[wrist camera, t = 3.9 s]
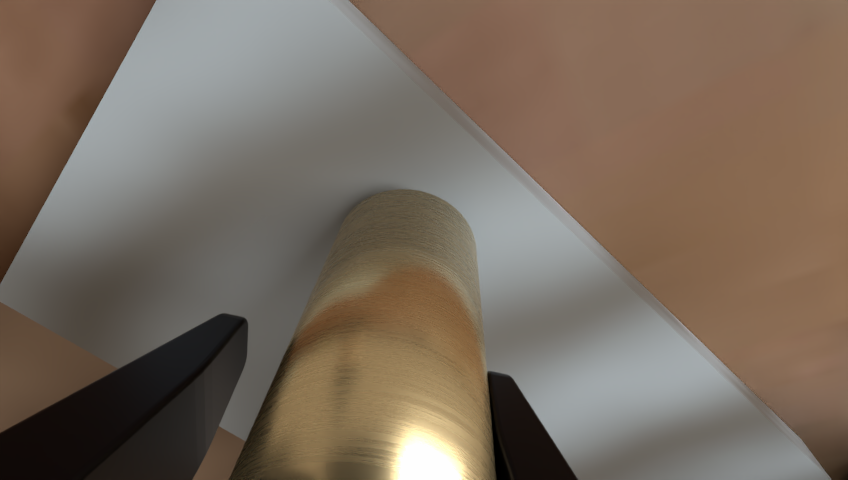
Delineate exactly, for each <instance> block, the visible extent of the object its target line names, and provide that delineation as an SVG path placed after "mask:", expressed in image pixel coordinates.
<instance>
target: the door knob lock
mask: <svg viewBox="0 0 848 480" xmlns="http://www.w3.org/2000/svg"><path fill="white" fill-rule="evenodd" d="M229 480H497V479H496V468H495V456H494V445H493V434H492V422H491V411H490V399H489V388H488V376H487V365H486V353H485V342H484V330H483V319H482V307H481V296H480V284H479V273H478V261H477V250H476V242H475V238H474V235H473V232H472V230H471V227H470V226H469V224H468V222H467V221H466V219H465V218H464V217H463V216H462V214H461V213H460V212H459V211H458V210H457V209H456V208H455V207H453V206H452V205H451V204H449V203H448V202H446V201H445V200H443V199H441V198H439V197H437V196H435V195H432V194H430V193H426V192H423V191H418V190H411V189H397V190H389V191H385V192H381V193H378V194H375V195H372V196H371V197H369V198H367V199H365V200H363V201H362V202H361V203H359V204H358V205H357V206H356V207H354V208H353V209H352V210H351V211H350V213H349V214H348V215H347V217H346V218H345V220H344V222H343V223H342V225H341V228H340V230H339V232H338V234H337V237H336V239H335V241H334V243H333V246H332V248H331V250H330V252H329V255H328V257H327V259H326V261H325V264H324V266H323V268H322V270H321V273H320V275H319V277H318V279H317V282H316V284H315V286H314V288H313V291H312V293H311V295H310V298H309V300H308V302H307V304H306V307H305V309H304V311H303V313H302V316H301V318H300V320H299V322H298V325H297V327H296V329H295V331H294V334H293V336H292V338H291V340H290V343H289V345H288V347H287V349H286V352H285V354H284V356H283V358H282V361H281V363H280V365H279V367H278V370H277V372H276V374H275V376H274V379H273V381H272V383H271V385H270V388H269V390H268V392H267V395H266V397H265V399H264V401H263V404H262V406H261V408H260V410H259V413H258V415H257V417H256V419H255V422H254V424H253V426H252V428H251V431H250V433H249V435H248V437H247V440H246V442H245V444H244V446H243V449H242V451H241V453H240V455H239V458H238V460H237V462H236V464H235V467H234V469H233V471H232V473H231V476H230V478H229Z"/></svg>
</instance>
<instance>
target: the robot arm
mask: <svg viewBox="0 0 848 480" xmlns="http://www.w3.org/2000/svg"><path fill="white" fill-rule="evenodd" d="M247 346H248V321H247V319H246V318H244V317H241V316H237V315H232V314H227V313H221V314H218V315H216V316H215V317H213V318H211V319H209V320H207V321H205V322H204V323H202V324H200V325H198V326H196V327H194V328H192V329H191V330H189V331H187V332H185V333H183V334H181V335H180V336H178V337H176V338H174V339H172V340H170V341H168V342H167V343H165V344H163V345H161V346H159V347H157V348H156V349H154V350H152V351H150V352H148V353H146V354H144V355H143V356H141V357H139V358H137V359H135V360H133V361H132V362H130V363H128V364H126V365H124V366H122V367H120V368H119V369H117V370H115V371H113V372H111V373H109V374H108V375H106V376H104V377H102V378H100V379H98V380H96V381H95V382H93V383H91V384H89V385H87V386H85V387H84V388H82V389H80V390H78V391H76V392H74V393H72V394H71V395H69V396H67V397H65V398H63V399H61V400H60V401H58V402H56V403H54V404H52V405H50V406H48V407H47V408H45V409H43V410H41V411H39V412H37V413H36V414H34V415H32V416H30V417H28V418H26V419H25V420H23V421H21V422H19V423H17V424H15V425H13V426H12V427H10V428H8V429H6V430H4V431H2V432H1V433H0V480H193V478H194V476H195V474H196V473H197V471H198V469H199V467H200V465H201V463H202V461H203V460H204V458H205V456H206V454H207V452H208V449H209V447H210V445H211V443H212V441H213V438H214V436H215V434H216V431H217V429H218V427H219V424H220V422H221V420H222V417H223V415H224V413H225V411H226V408H227V406H228V404H229V401H230V399H231V397H232V394H233V392H234V390H235V387H236V385H237V383H238V381H239V378H240V376H241V374H242V371H243V369H244V366H245V363H246V359H247ZM487 376H488V388H489V399H490V411H491V422H492V434H493V445H494V456H495V468H496V479H497V480H578V478H577V477H576V475H575V473H574V472H573V470H572V469H571V467H570V466H569V464H568V463H567V461H566V460H565V458H564V456H563V455H562V453H561V452H560V450H559V449H558V447H557V446H556V444H555V443H554V441H553V439H552V438H551V436H550V435H549V433H548V432H547V430H546V429H545V427H544V426H543V424H542V422H541V421H540V419H539V418H538V416H537V415H536V413H535V412H534V410H533V409H532V407H531V405H530V404H529V402H528V401H527V399H526V398H525V396H524V395H523V393H522V392H521V390H520V388H519V387H518V385H517V384H516V382H515V381H514V379H513V378H512V377H511V376H510V375H508V374H503V373H499V372H494V371H488V372H487Z"/></svg>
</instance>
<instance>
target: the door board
mask: <svg viewBox="0 0 848 480" xmlns="http://www.w3.org/2000/svg"><path fill="white" fill-rule="evenodd" d="M397 189H411V190H418V191H423V192H426V193H430V194H432V195H435V196H437V197H439V198H441V199H443V200H445V201H446V202H448V203H449V204H451V205H452V206H453V207H455V208H456V209H457V210H458V211H459V212H460V213H461V214H462V216H463V217H464V218H465V219H466V221H467V222H468V224H469V226H470V227H471V230H472V232H473V235H474V238H475V242H476V250H477V261H478V273H479V284H480V296H481V307H482V319H483V330H484V342H485V353H486V365H487V372H488V371H494V372H499V373H503V374H508V375H510V376H511V377H512V378H513V379H514V381H515V382H516V384H517V385H518V387H519V388H520V390H521V392H522V393H523V395H524V396H525V398H526V399H527V401H528V402H529V404H530V405H531V407H532V409H533V410H534V412H535V413H536V415H537V416H538V418H539V419H540V421H541V422H542V424H543V426H544V427H545V429H546V430H547V432H548V433H549V435H550V436H551V438H552V439H553V441H554V443H555V444H556V446H557V447H558V449H559V450H560V452H561V453H562V455H563V456H564V458H565V460H566V461H567V463H568V464H569V466H570V467H571V469H572V470H573V472H574V473H575V475H576V477H577V478H578V480H832V479H831V478H830V477H829V475H828V474H827V473H826V471H825V470H824V469H823V467H822V466H821V465H820V463H819V462H818V461H817V459H816V458H815V457H814V455H813V454H812V453H811V451H810V450H809V449H808V447H807V446H806V445H805V444H804V442H803V441H802V440H801V438H800V437H798V436H797V435H796V434H795V433H794V432H793V431H792V430H791V429H790V428H789V427H788V426H787V425H786V424H785V423H784V422H783V421H782V420H781V419H780V418H779V417H778V416H777V415H776V414H775V413H774V412H773V411H772V410H771V409H770V408H769V407H768V406H767V405H765V404H764V403H763V402H762V401H761V400H760V399H759V398H758V397H757V396H756V395H755V394H754V393H753V392H752V391H751V390H750V389H749V388H748V387H747V386H746V385H745V384H744V383H743V382H742V381H741V380H740V379H739V378H738V377H737V376H736V375H735V374H733V373H732V372H731V371H730V370H729V369H728V368H727V367H726V366H725V365H724V364H723V363H722V362H721V361H720V360H719V359H718V358H717V357H716V356H715V355H714V354H713V353H712V352H711V351H710V350H709V349H708V348H707V347H706V346H705V345H704V344H703V343H702V342H700V341H699V340H698V339H697V338H696V337H695V336H694V335H693V334H692V333H691V332H690V331H689V330H688V329H687V328H686V327H685V326H684V325H683V324H682V323H681V322H680V321H679V320H678V319H677V318H676V317H675V316H674V315H673V314H672V313H671V312H670V311H668V310H667V309H666V308H665V307H664V306H663V305H662V304H661V303H660V302H659V301H658V300H657V299H656V298H655V297H654V296H653V295H652V294H651V293H650V292H649V291H648V290H647V289H646V288H645V287H644V286H643V285H642V284H641V283H640V282H639V281H638V280H637V279H635V278H634V277H633V276H632V275H631V274H630V273H629V272H628V271H627V270H626V269H625V268H624V267H623V266H622V265H621V264H620V263H619V262H618V261H617V260H616V259H615V258H614V257H613V256H612V255H611V254H610V253H609V252H608V251H607V250H606V249H605V248H603V247H602V246H601V245H600V244H599V243H598V242H597V241H596V240H595V239H594V238H593V237H592V236H591V235H590V234H589V233H588V232H587V231H586V230H585V229H584V228H583V227H582V226H581V225H580V224H579V223H578V222H577V221H576V220H575V219H574V218H573V217H572V216H570V215H569V214H568V213H567V212H566V211H565V210H564V209H563V208H562V207H561V206H560V205H559V204H558V203H557V202H556V201H555V200H554V199H553V198H552V197H551V196H550V195H549V194H548V193H547V192H546V191H545V190H544V189H543V188H542V187H541V186H540V185H538V184H537V183H536V182H535V181H534V180H533V179H532V178H531V177H530V176H529V175H528V174H527V173H526V172H525V171H524V170H523V169H522V168H521V167H520V166H519V165H518V164H517V163H516V162H515V161H514V160H513V159H512V158H511V157H510V156H509V155H508V154H507V153H505V152H504V151H503V150H502V149H501V148H500V147H499V146H498V145H497V144H496V143H495V142H494V141H493V140H492V139H491V138H490V137H489V136H488V135H487V134H486V133H485V132H484V131H483V130H482V129H481V128H480V127H479V126H478V125H477V124H476V123H475V122H474V121H472V120H471V119H470V118H469V117H468V116H467V115H466V114H465V113H464V112H463V111H462V110H461V109H460V108H459V107H458V106H457V105H456V104H455V103H454V102H453V101H452V100H451V99H450V98H449V97H448V96H447V95H446V94H445V93H444V92H443V91H442V90H440V89H439V88H438V87H437V86H436V85H435V84H434V83H433V82H432V81H431V80H430V79H429V78H428V77H427V76H426V75H425V74H424V73H423V72H422V71H421V70H420V69H419V68H418V67H417V66H416V65H415V64H414V63H413V62H412V61H411V60H410V59H409V58H407V57H406V56H405V55H404V54H403V53H402V52H401V51H400V50H399V49H398V48H397V47H396V46H395V45H394V44H393V43H392V42H391V41H390V40H389V39H388V38H387V37H386V36H385V35H384V34H383V33H382V32H381V31H380V30H379V29H378V28H377V27H375V26H374V25H373V24H372V23H371V22H370V21H369V20H368V19H367V18H366V17H365V16H364V15H363V14H362V13H361V12H360V11H359V10H358V9H357V8H356V7H355V6H354V5H353V4H352V3H351V2H350V1H349V0H156V2H155V4H154V6H153V8H152V9H151V11H150V13H149V15H148V17H147V18H146V20H145V22H144V24H143V26H142V28H141V29H140V31H139V33H138V35H137V37H136V38H135V40H134V42H133V44H132V46H131V48H130V49H129V51H128V53H127V55H126V57H125V58H124V60H123V62H122V64H121V66H120V68H119V69H118V71H117V73H116V75H115V77H114V78H113V80H112V82H111V84H110V86H109V88H108V89H107V91H106V93H105V95H104V97H103V98H102V100H101V102H100V104H99V106H98V108H97V109H96V111H95V113H94V115H93V117H92V118H91V120H90V122H89V124H88V126H87V127H86V129H85V131H84V133H83V135H82V137H81V138H80V140H79V142H78V144H77V146H76V147H75V149H74V151H73V153H72V155H71V157H70V158H69V160H68V162H67V164H66V166H65V167H64V169H63V171H62V173H61V175H60V177H59V178H58V180H57V182H56V184H55V186H54V187H53V189H52V191H51V193H50V195H49V197H48V198H47V200H46V202H45V204H44V206H43V207H42V209H41V211H40V213H39V215H38V216H37V218H36V220H35V222H34V224H33V226H32V227H31V229H30V231H29V233H28V235H27V236H26V238H25V240H24V242H23V244H22V246H21V247H20V249H19V251H18V253H17V255H16V256H15V258H14V260H13V262H12V264H11V266H10V267H9V269H8V271H7V273H6V275H5V276H4V278H3V280H2V282H1V284H0V433H1V432H2V431H4V430H6V429H8V428H10V427H12V426H13V425H15V424H17V423H19V422H21V421H23V420H25V419H26V418H28V417H30V416H32V415H34V414H36V413H37V412H39V411H41V410H43V409H45V408H47V407H48V406H50V405H52V404H54V403H56V402H58V401H60V400H61V399H63V398H65V397H67V396H69V395H71V394H72V393H74V392H76V391H78V390H80V389H82V388H84V387H85V386H87V385H89V384H91V383H93V382H95V381H96V380H98V379H100V378H102V377H104V376H106V375H108V374H109V373H111V372H113V371H115V370H117V369H119V368H120V367H122V366H124V365H126V364H128V363H130V362H132V361H133V360H135V359H137V358H139V357H141V356H143V355H144V354H146V353H148V352H150V351H152V350H154V349H156V348H157V347H159V346H161V345H163V344H165V343H167V342H168V341H170V340H172V339H174V338H176V337H178V336H180V335H181V334H183V333H185V332H187V331H189V330H191V329H192V328H194V327H196V326H198V325H200V324H202V323H204V322H205V321H207V320H209V319H211V318H213V317H215V316H216V315H218V314H221V313H227V314H232V315H237V316H241V317H244V318H246V319H247V321H248V346H247V359H246V363H245V366H244V369H243V371H242V374H241V376H240V378H239V381H238V383H237V385H236V387H235V390H234V392H233V394H232V397H231V399H230V401H229V404H228V406H227V408H226V411H225V413H224V415H223V417H222V420H221V422H220V424H219V427H218V429H217V431H216V434H215V436H214V438H213V441H212V443H211V445H210V447H209V449H208V452H207V454H206V456H205V458H204V460H203V461H202V463H201V465H200V467H199V469H198V471H197V473H196V474H195V476H194V478H193V480H229V478H230V476H231V473H232V471H233V469H234V467H235V464H236V462H237V460H238V458H239V455H240V453H241V451H242V449H243V446H244V444H245V442H246V440H247V437H248V435H249V433H250V431H251V428H252V426H253V424H254V422H255V419H256V417H257V415H258V413H259V410H260V408H261V406H262V404H263V401H264V399H265V397H266V395H267V392H268V390H269V388H270V385H271V383H272V381H273V379H274V376H275V374H276V372H277V370H278V367H279V365H280V363H281V361H282V358H283V356H284V354H285V352H286V349H287V347H288V345H289V343H290V340H291V338H292V336H293V334H294V331H295V329H296V327H297V325H298V322H299V320H300V318H301V316H302V313H303V311H304V309H305V307H306V304H307V302H308V300H309V298H310V295H311V293H312V291H313V288H314V286H315V284H316V282H317V279H318V277H319V275H320V273H321V270H322V268H323V266H324V264H325V261H326V259H327V257H328V255H329V252H330V250H331V248H332V246H333V243H334V241H335V239H336V237H337V234H338V232H339V230H340V228H341V225H342V223H343V222H344V220H345V218H346V217H347V215H348V214H349V213H350V211H351V210H352V209H353V208H354V207H356V206H357V205H358V204H359V203H361V202H362V201H363V200H365V199H367V198H369V197H371V196H372V195H375V194H378V193H381V192H385V191H389V190H397Z"/></svg>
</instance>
